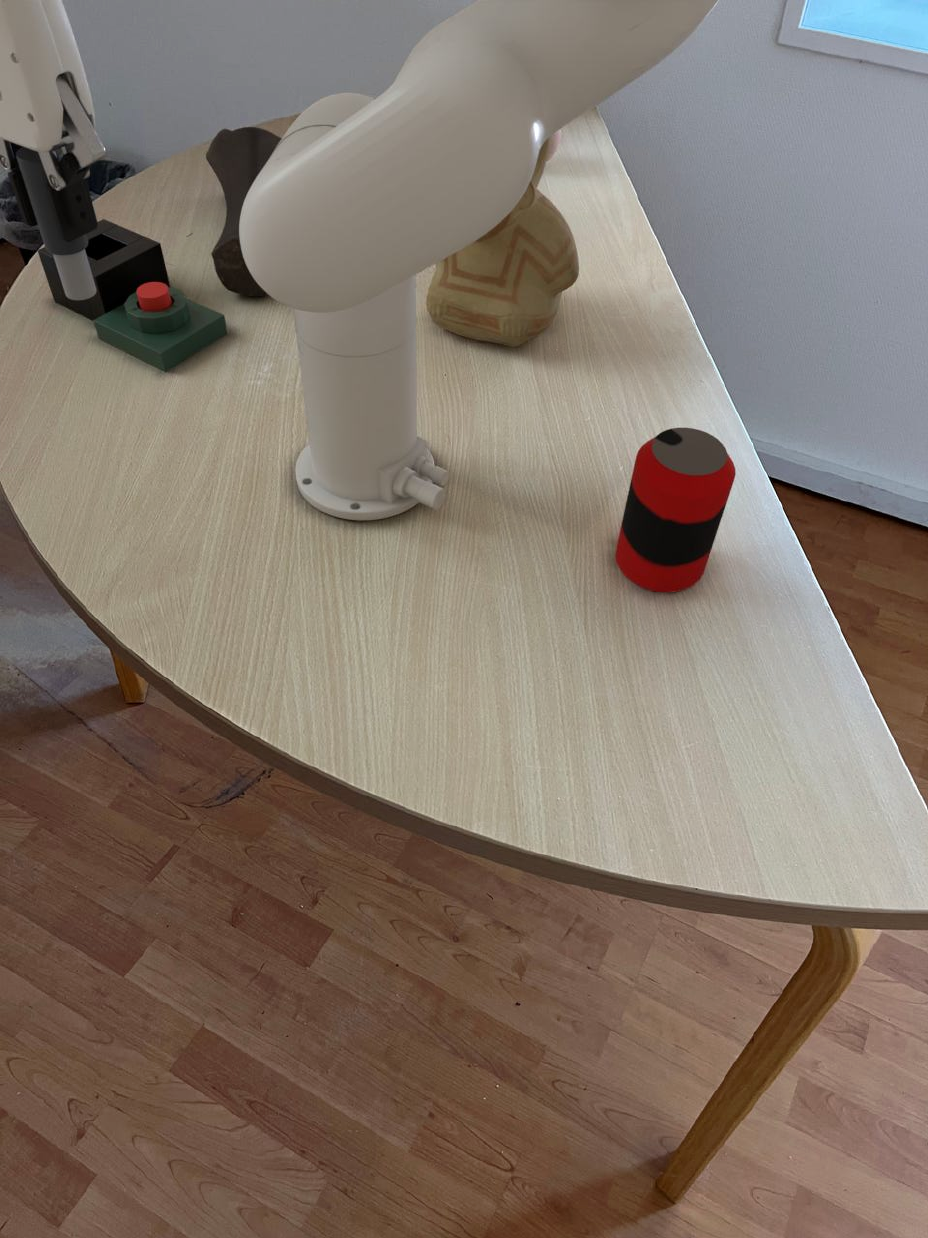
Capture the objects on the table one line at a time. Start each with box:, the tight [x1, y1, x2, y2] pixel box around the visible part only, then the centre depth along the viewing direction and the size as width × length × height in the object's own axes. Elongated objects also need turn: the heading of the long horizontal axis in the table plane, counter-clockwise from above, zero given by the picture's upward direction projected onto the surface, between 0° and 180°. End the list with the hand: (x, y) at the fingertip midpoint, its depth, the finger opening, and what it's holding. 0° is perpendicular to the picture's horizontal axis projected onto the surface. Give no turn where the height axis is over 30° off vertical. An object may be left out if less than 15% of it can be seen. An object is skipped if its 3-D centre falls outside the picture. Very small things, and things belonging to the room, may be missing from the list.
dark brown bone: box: [205, 126, 283, 298], centre depth 110 cm, size 11×10×28 cm
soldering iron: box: [16, 147, 96, 300], centre depth 71 cm, size 3×3×11 cm
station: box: [93, 286, 228, 372], centre depth 97 cm, size 10×9×4 cm
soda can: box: [614, 427, 736, 593], centre depth 74 cm, size 8×8×12 cm
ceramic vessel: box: [425, 137, 580, 348], centre depth 94 cm, size 17×20×25 cm
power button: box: [136, 282, 172, 312], centre depth 95 cm, size 3×3×2 cm
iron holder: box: [37, 218, 171, 322], centre depth 101 cm, size 9×9×6 cm
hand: (61, 224), depth 71 cm, fingers closed on soldering iron, 3 cm apart
